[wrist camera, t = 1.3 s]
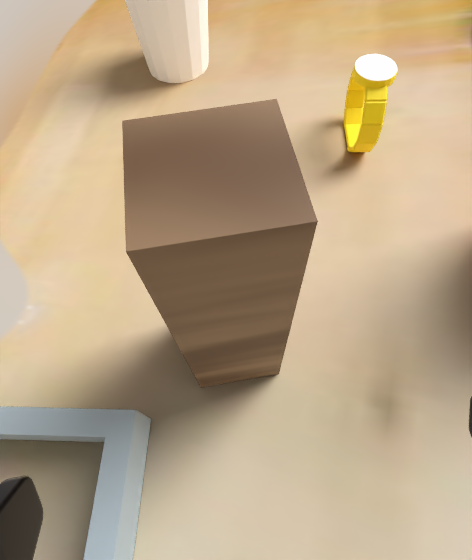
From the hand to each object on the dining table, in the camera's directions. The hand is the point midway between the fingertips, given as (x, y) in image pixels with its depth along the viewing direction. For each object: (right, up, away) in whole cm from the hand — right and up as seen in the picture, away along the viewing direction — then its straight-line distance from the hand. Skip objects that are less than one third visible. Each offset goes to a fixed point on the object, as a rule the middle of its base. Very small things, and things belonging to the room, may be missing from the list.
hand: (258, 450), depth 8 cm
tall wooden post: (-1, 0, +14) cm, 14 cm away
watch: (+9, +15, +22) cm, 28 cm away
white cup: (-6, +24, +27) cm, 37 cm away
